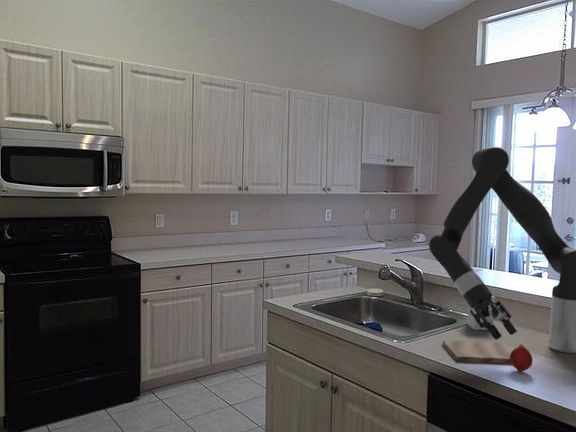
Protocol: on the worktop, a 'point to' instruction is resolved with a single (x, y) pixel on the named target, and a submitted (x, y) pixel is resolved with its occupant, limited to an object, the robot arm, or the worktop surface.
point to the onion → (521, 358)
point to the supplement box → (473, 322)
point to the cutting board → (479, 351)
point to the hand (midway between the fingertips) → (506, 335)
